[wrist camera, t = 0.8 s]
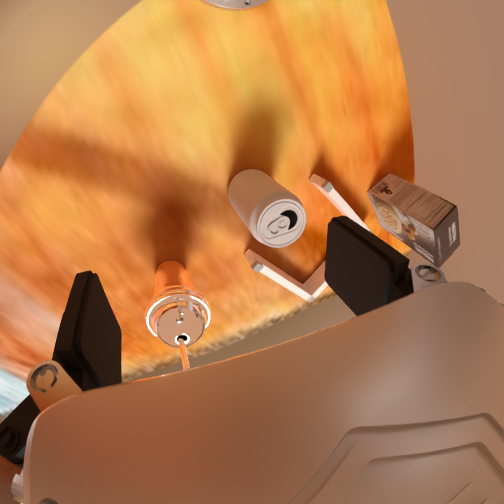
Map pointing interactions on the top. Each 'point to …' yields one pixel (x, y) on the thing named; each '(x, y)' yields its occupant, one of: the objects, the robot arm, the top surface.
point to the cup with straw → (176, 309)
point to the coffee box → (416, 218)
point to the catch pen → (317, 280)
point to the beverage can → (267, 208)
